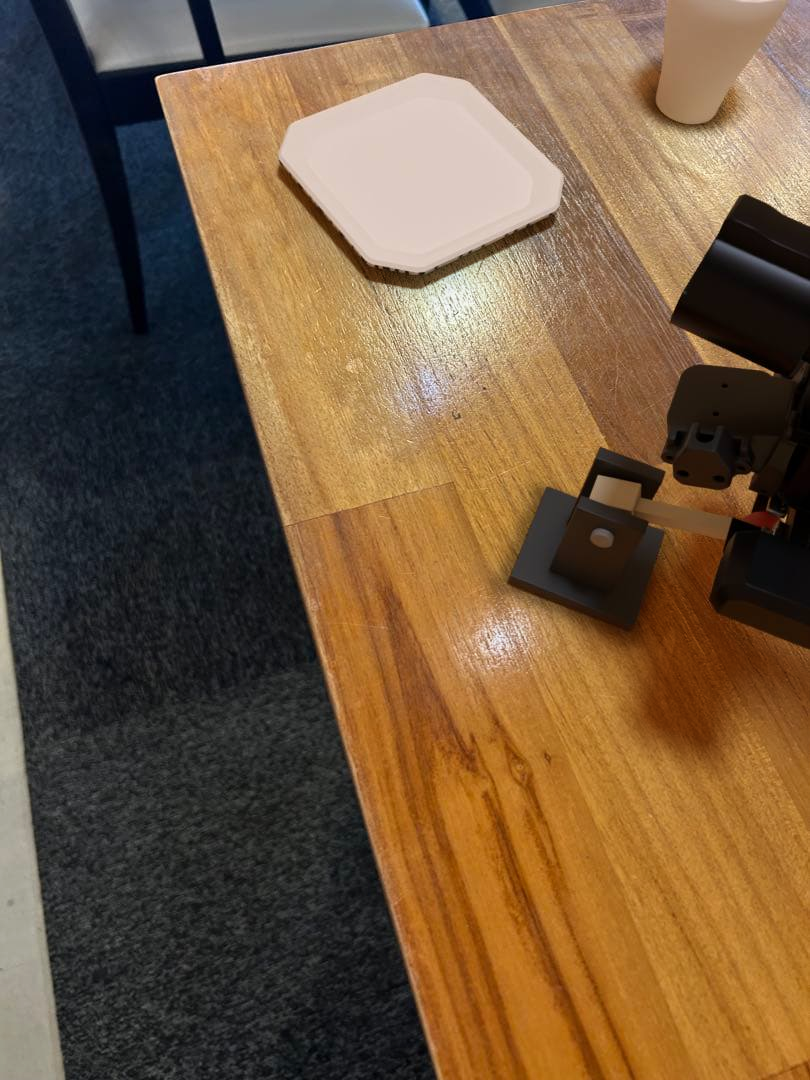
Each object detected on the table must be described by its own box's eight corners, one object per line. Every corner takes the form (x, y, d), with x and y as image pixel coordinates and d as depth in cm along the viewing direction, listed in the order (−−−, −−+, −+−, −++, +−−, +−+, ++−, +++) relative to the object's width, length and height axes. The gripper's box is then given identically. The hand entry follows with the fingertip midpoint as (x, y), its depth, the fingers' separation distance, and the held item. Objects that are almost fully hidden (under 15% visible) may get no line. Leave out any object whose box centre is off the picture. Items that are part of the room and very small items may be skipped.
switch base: (660, 539, 69) (707, 465, 60) (630, 632, 65) (675, 568, 57) (543, 494, 70) (573, 415, 62) (507, 583, 66) (533, 513, 58)
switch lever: (788, 536, 59) (796, 507, 56) (778, 575, 57) (786, 548, 55) (600, 494, 63) (599, 466, 61) (586, 530, 62) (585, 503, 59)
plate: (581, 213, 84) (587, 193, 82) (388, 305, 78) (389, 285, 76) (446, 80, 92) (449, 59, 90) (259, 154, 85) (258, 132, 83)
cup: (621, 122, 91) (664, -19, 79) (645, 58, 95) (690, -84, 84) (728, 153, 89) (788, 16, 78) (748, 87, 94) (807, -52, 82)
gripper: (752, 219, 51) (663, 397, 65) (662, 490, 42) (581, 628, 56) (960, 289, 49) (824, 455, 63) (910, 584, 41) (765, 702, 55)
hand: (748, 551), depth 59 cm, fingers open, 5 cm apart
